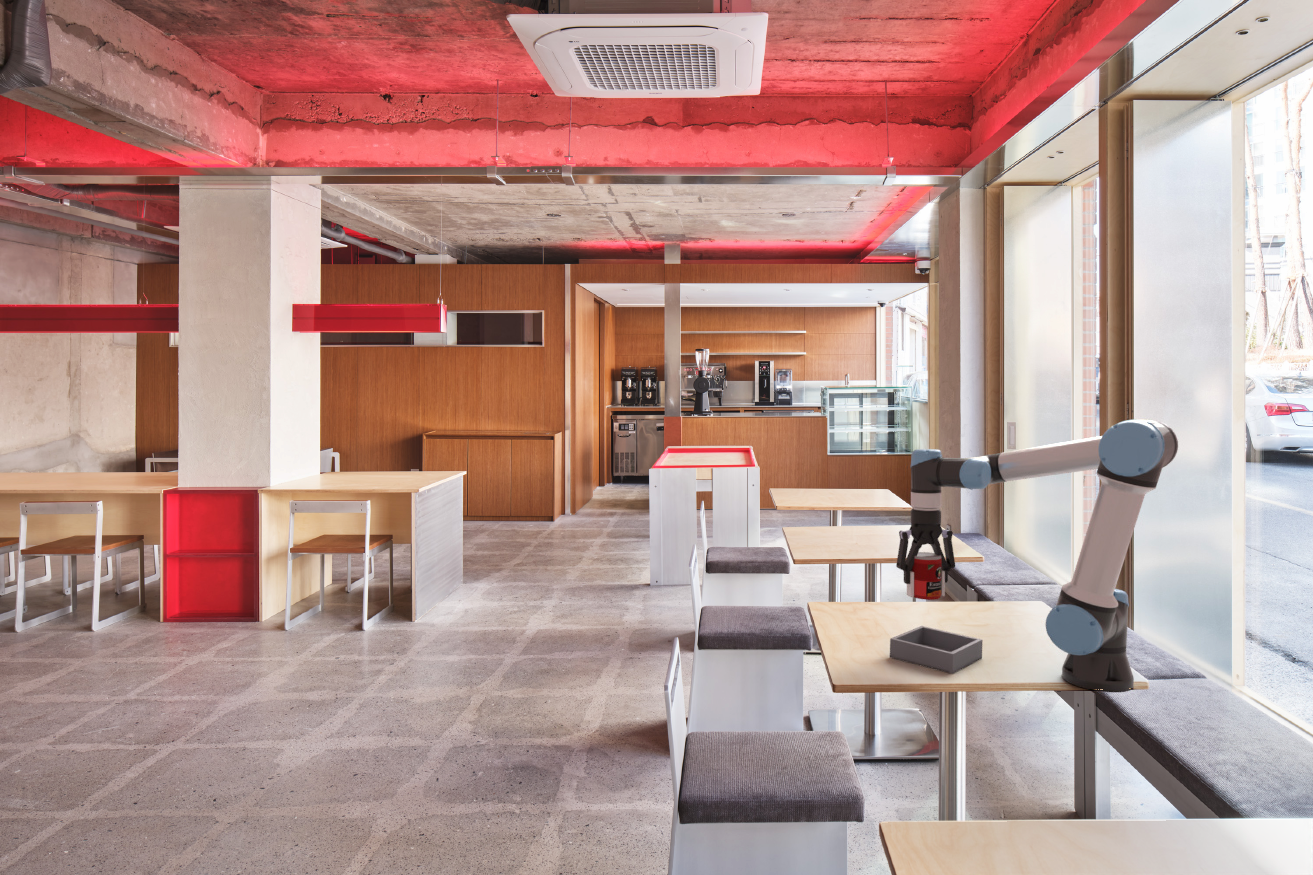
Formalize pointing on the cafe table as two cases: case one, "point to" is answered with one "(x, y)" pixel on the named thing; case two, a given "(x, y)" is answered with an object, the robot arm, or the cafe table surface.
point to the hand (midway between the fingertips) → (925, 595)
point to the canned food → (927, 576)
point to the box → (936, 649)
